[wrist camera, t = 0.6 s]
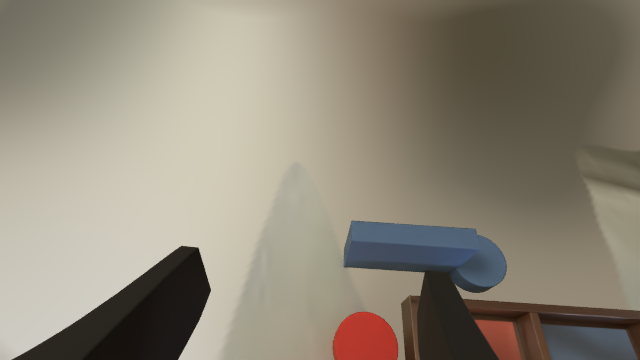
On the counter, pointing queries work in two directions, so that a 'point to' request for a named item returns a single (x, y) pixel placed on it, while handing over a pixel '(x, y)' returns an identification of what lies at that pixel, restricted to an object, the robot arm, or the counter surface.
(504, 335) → the sorting tray
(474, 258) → the blue spoon
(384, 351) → the red spoon
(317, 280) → the counter surface
